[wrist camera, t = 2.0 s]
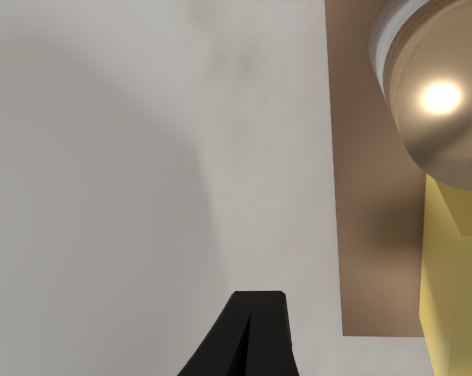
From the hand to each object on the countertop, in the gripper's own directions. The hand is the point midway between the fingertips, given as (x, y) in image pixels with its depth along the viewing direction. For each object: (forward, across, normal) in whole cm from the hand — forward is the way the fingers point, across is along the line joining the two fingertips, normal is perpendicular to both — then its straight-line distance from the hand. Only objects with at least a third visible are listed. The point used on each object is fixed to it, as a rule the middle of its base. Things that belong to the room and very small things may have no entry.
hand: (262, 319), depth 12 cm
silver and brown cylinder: (+3, -5, -6) cm, 8 cm away
